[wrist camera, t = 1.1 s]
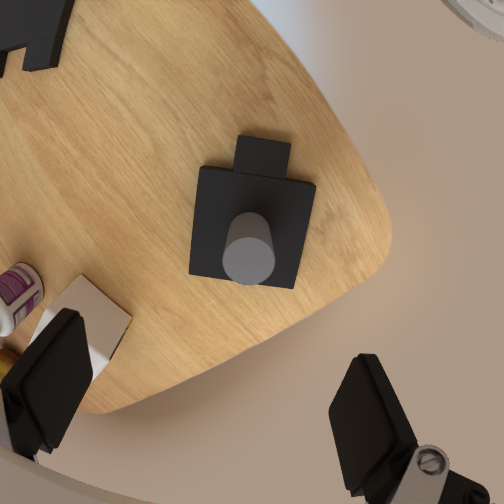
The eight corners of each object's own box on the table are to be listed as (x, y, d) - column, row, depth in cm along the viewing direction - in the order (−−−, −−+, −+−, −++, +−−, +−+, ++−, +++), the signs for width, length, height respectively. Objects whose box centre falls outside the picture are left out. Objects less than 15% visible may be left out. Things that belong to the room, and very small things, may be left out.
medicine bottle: (105, 351, 31) (63, 429, 20) (57, 312, 29) (1, 379, 18) (134, 317, 29) (88, 403, 18) (81, 272, 27) (13, 341, 16)
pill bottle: (6, 267, 27) (-45, 306, 18) (32, 256, 27) (-24, 298, 18) (25, 306, 29) (-19, 352, 20) (52, 300, 29) (5, 350, 20)
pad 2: (207, 131, 23) (188, 129, 16) (319, 149, 23) (347, 155, 16) (191, 267, 27) (172, 312, 20) (291, 281, 28) (303, 330, 21)
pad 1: (8, -9, 15) (1, -11, 13) (88, -35, 15) (81, -41, 14) (-17, 82, 19) (-25, 82, 18) (57, 67, 20) (48, 65, 18)
